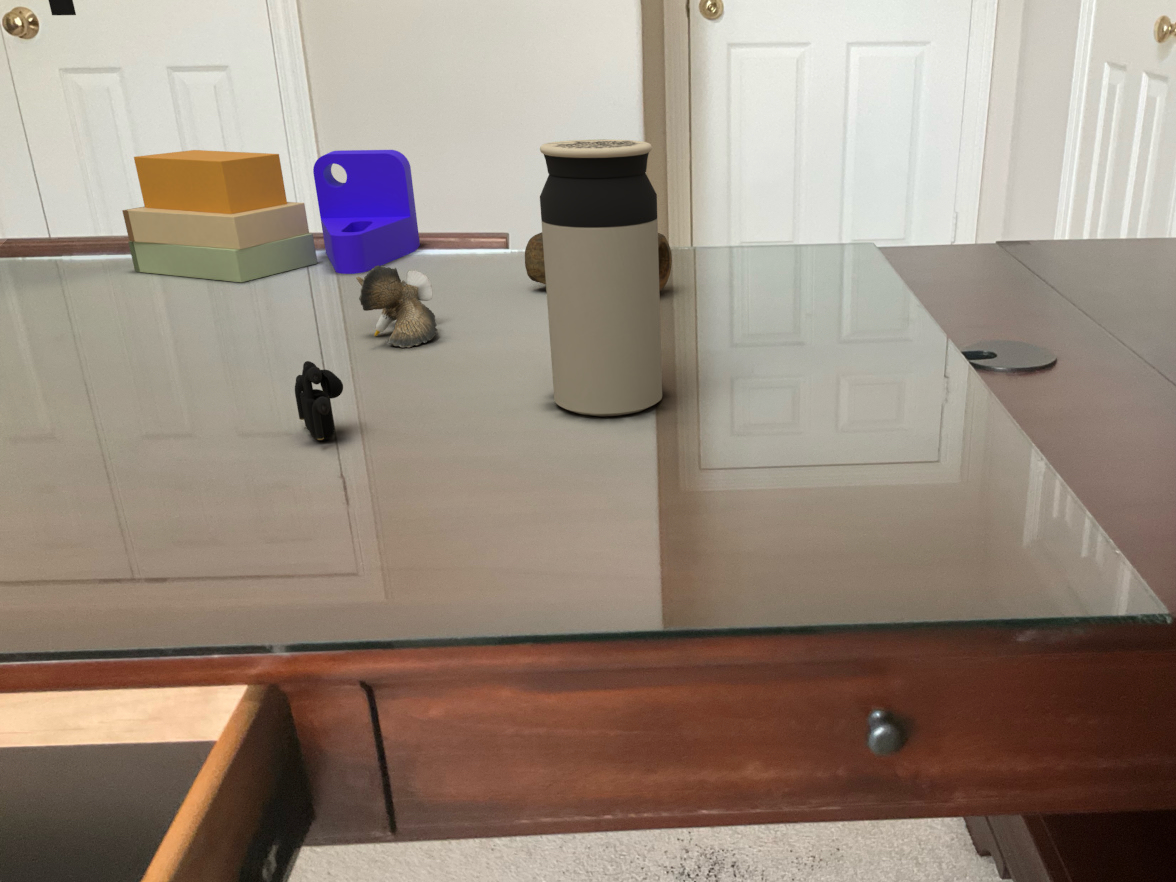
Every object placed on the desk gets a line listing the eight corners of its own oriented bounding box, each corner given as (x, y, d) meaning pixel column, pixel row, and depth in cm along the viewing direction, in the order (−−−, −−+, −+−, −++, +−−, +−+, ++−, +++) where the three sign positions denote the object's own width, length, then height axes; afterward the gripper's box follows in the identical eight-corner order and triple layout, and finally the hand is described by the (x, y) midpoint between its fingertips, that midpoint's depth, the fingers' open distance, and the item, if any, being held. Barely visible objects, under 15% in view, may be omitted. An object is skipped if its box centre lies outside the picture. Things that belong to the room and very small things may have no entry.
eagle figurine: (337, 316, 100) (341, 320, 91) (371, 246, 99) (377, 244, 91) (414, 355, 103) (425, 361, 95) (447, 287, 102) (460, 288, 94)
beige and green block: (132, 272, 125) (118, 209, 122) (216, 253, 135) (205, 195, 132) (240, 283, 119) (227, 217, 116) (319, 263, 129) (309, 202, 126)
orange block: (287, 204, 125) (279, 153, 123) (231, 214, 118) (221, 161, 116) (203, 198, 130) (194, 149, 128) (144, 207, 123) (133, 156, 120)
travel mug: (682, 406, 79) (677, 145, 71) (583, 425, 75) (566, 152, 67) (631, 379, 85) (621, 136, 77) (537, 396, 81) (517, 142, 74)
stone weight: (677, 287, 116) (675, 223, 113) (658, 302, 110) (656, 234, 107) (546, 281, 119) (542, 218, 116) (521, 294, 113) (515, 229, 110)
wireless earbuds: (297, 424, 76) (285, 354, 73) (334, 418, 77) (322, 348, 75) (322, 454, 70) (310, 379, 68) (361, 447, 71) (350, 372, 69)
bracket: (333, 247, 139) (318, 150, 134) (419, 245, 140) (408, 149, 135) (300, 275, 123) (282, 167, 118) (398, 273, 124) (383, 165, 119)
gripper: (34, -211, 112) (86, 16, 121) (-237, -266, 92) (-151, 12, 101) (85, -217, 110) (134, 15, 119) (-182, -275, 89) (-99, 11, 98)
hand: (4, 14), depth 110 cm, fingers open, 13 cm apart
